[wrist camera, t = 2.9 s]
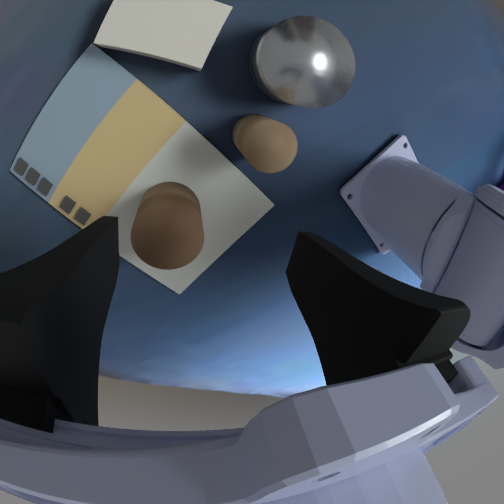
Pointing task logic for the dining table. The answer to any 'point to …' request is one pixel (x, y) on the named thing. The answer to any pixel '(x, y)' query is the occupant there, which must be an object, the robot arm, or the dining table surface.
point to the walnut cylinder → (168, 226)
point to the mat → (131, 162)
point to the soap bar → (164, 29)
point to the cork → (265, 142)
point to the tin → (302, 62)
